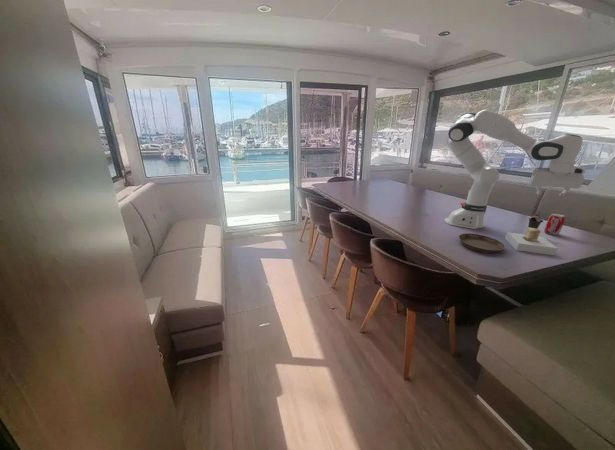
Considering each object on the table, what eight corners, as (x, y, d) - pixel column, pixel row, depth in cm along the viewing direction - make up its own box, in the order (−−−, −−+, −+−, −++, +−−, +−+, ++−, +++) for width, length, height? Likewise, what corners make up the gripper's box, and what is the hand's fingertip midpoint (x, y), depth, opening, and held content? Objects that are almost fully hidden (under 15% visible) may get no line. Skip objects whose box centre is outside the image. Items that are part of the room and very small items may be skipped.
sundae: (533, 234, 148) (542, 210, 143) (539, 238, 142) (548, 214, 137) (520, 232, 150) (528, 209, 145) (525, 236, 144) (534, 212, 139)
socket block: (516, 250, 127) (519, 243, 126) (504, 238, 141) (507, 232, 140) (555, 255, 122) (558, 248, 121) (539, 242, 136) (541, 236, 135)
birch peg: (524, 247, 131) (531, 229, 127) (521, 244, 135) (527, 227, 131) (533, 248, 130) (540, 231, 126) (530, 245, 133) (537, 228, 130)
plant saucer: (510, 249, 128) (512, 244, 127) (490, 258, 119) (492, 252, 117) (470, 236, 145) (471, 230, 144) (449, 243, 135) (450, 237, 134)
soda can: (561, 236, 146) (569, 217, 142) (548, 235, 147) (555, 216, 143) (553, 231, 152) (560, 213, 148) (540, 230, 154) (547, 212, 149)
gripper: (537, 167, 124) (527, 194, 129) (590, 170, 117) (578, 198, 122) (531, 166, 129) (522, 191, 134) (581, 169, 122) (570, 195, 127)
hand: (549, 195), depth 128 cm, fingers open, 8 cm apart
